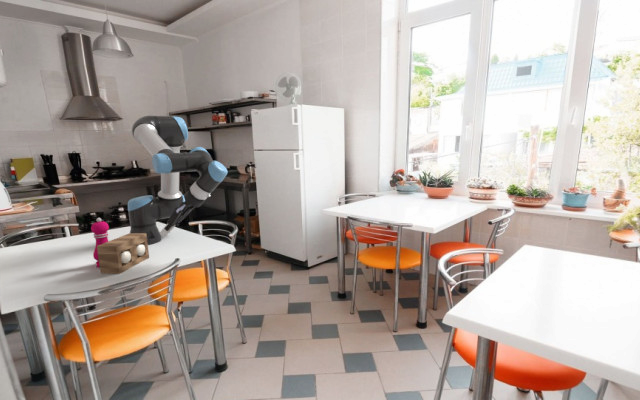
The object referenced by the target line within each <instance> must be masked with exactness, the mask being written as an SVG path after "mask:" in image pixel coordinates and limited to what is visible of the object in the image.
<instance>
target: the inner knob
mask: <svg viewBox="0 0 640 400" xmlns="http://www.w3.org/2000/svg"><path fill="white" fill-rule="evenodd" d="M136 250H137V255H140V256H142V255H143V254H144V253H145V246H144V245H136Z"/></svg>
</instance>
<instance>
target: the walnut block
mask: <svg viewBox="0 0 640 400" xmlns="http://www.w3.org/2000/svg"><path fill="white" fill-rule="evenodd" d="M136 245H144V246H145V253H144V254H143V255H142V256H140V255H137V250H136ZM97 251H98V258H99V264H100V267H99V270H100V274H111V275H112V274H117V275H120V274H122V273H124V272H126V271H127V270H129V269H131V268H133V267H135V266H137V265H139V264H140V263H143V262H144V261H146V260H148V259H149V258H150V252H149V245H148V243H147V235H146V233H130V232H129V233H126V234H124V235H122V236H119V237H117V238H114V239H112V240H108V242H106V243H103V244H101V245H98V246H97ZM123 251H128V252H130V254H131V259H130V261H129V262H128V263H122V261H121V254H120V253H121V252H123Z"/></svg>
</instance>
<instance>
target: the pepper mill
mask: <svg viewBox="0 0 640 400" xmlns="http://www.w3.org/2000/svg"><path fill="white" fill-rule="evenodd" d="M95 221H96V222H93V223H92V224H91V227H90V229H91V230H90V231H91V232H92V233H93V238H94V239H95V247H94V250H93V255H92V256H93V259H94V260H95V261H96V262H95V266H96V267H97V268H100V264H99V258H98V251H97V246H98V245H101V244H103V243H106V242H109V232H108V231H109V230H110V226H109V224H108V223H107V222H106V221H104V220H103V221H102V218H101V217H97V218H96V220H95Z"/></svg>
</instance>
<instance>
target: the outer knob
mask: <svg viewBox="0 0 640 400" xmlns="http://www.w3.org/2000/svg"><path fill="white" fill-rule="evenodd" d="M120 254H121V261H122V263H128V262H129V261H130V259H131V254H130V252H128V251H123V252H121V253H120Z"/></svg>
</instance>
